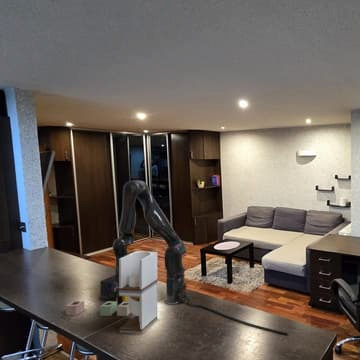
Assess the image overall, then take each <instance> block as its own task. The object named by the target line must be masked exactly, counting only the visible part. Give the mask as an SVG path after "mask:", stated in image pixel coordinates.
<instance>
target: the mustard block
mask: <svg viewBox="0 0 360 360" xmlns="http://www.w3.org/2000/svg"><path fill="white" fill-rule="evenodd" d="M122 297H123V302H129V296H122ZM115 302H117V305H119V304H118V298H115Z"/></svg>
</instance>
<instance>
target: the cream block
mask: <svg viewBox="0 0 360 360" xmlns="http://www.w3.org/2000/svg"><path fill="white" fill-rule="evenodd" d="M130 314H132V313H131V312H130V311H129V301H128V302H123V303H121V304H118V305H117V311H116V317H128V316H129V315H130Z"/></svg>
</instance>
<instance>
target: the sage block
mask: <svg viewBox="0 0 360 360" xmlns="http://www.w3.org/2000/svg"><path fill="white" fill-rule="evenodd" d="M117 306H118V304H117V302H116V301H109V300H107V301H106V302H105V303H103V304H101V305H100V306H99V315H100V316H101V317H111V316H112V315H113V314H115V313H117Z"/></svg>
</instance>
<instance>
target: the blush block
mask: <svg viewBox="0 0 360 360" xmlns="http://www.w3.org/2000/svg"><path fill="white" fill-rule="evenodd" d="M84 311H85V300H74V301H72V302H70V303H68V304H66V305H65V315H66V316H78V315H79V314H80V313H81V314H82V313H83V312H84Z"/></svg>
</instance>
